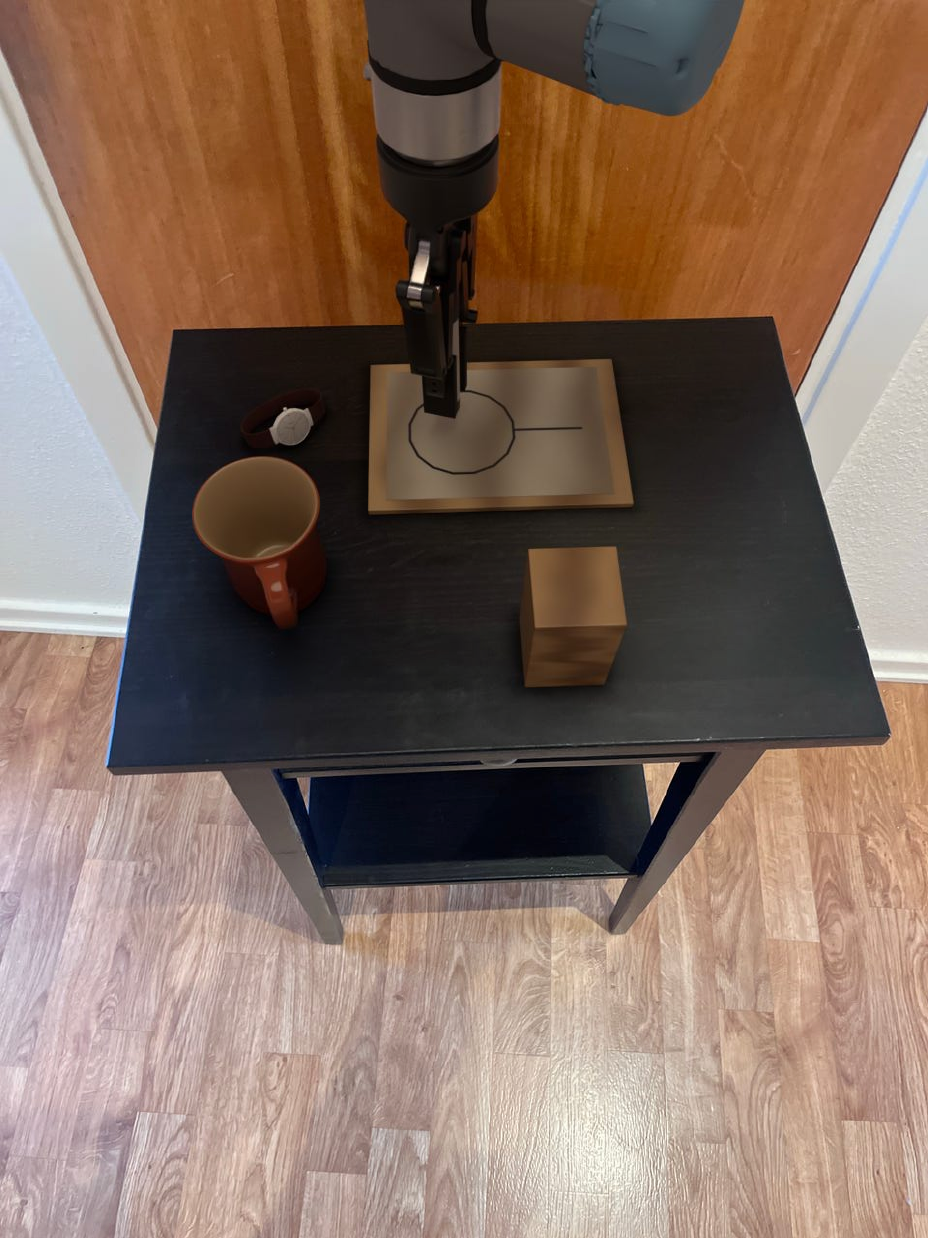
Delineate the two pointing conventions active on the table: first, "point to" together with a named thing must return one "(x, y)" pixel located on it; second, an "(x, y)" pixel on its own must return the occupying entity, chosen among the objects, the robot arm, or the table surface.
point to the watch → (284, 418)
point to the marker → (456, 340)
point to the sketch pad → (499, 440)
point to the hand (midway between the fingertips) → (445, 398)
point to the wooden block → (571, 616)
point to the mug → (265, 533)
